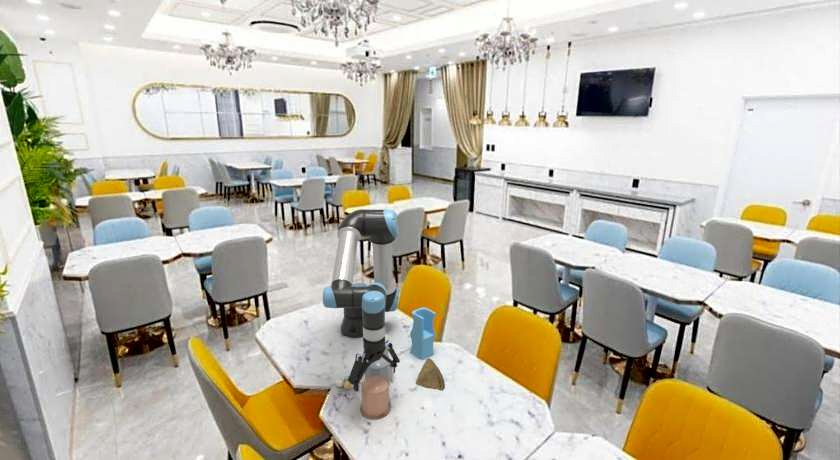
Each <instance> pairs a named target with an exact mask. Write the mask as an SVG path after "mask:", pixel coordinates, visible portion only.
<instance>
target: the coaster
mask: <svg viewBox="0 0 840 460" xmlns="http://www.w3.org/2000/svg"><path fill="white" fill-rule="evenodd" d="M391 410H392V405H391V402H390V401H389V405H388V409H387V412H385V413H383V414H381V415H379V416H369V415H367V414H366V413H365V412H364V411H363V410H362V403H361V404H360V406H359V412H360V414H361V415H362V417H364V418H366V419H368V420H380V419H384V418H385V417H387V416H388V414H390V412H391Z"/></svg>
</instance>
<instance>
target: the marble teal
mask: <svg viewBox="0 0 840 460" xmlns="http://www.w3.org/2000/svg"><path fill="white" fill-rule="evenodd" d="M349 375H350V374H348V375H345V376H344V377H343V382H344V383H345V382H346V381H348V378H349Z"/></svg>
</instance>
